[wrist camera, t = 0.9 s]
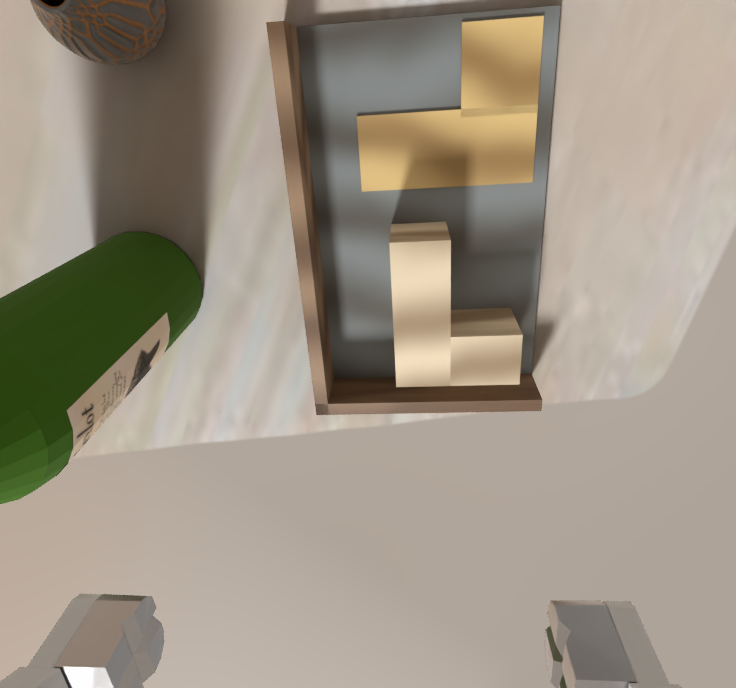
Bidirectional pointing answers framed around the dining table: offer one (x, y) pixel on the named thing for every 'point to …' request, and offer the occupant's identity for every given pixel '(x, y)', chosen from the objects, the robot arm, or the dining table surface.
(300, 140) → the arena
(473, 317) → the oak L block
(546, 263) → the dining table surface
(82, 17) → the vase
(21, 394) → the wine bottle
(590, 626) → the robot arm
